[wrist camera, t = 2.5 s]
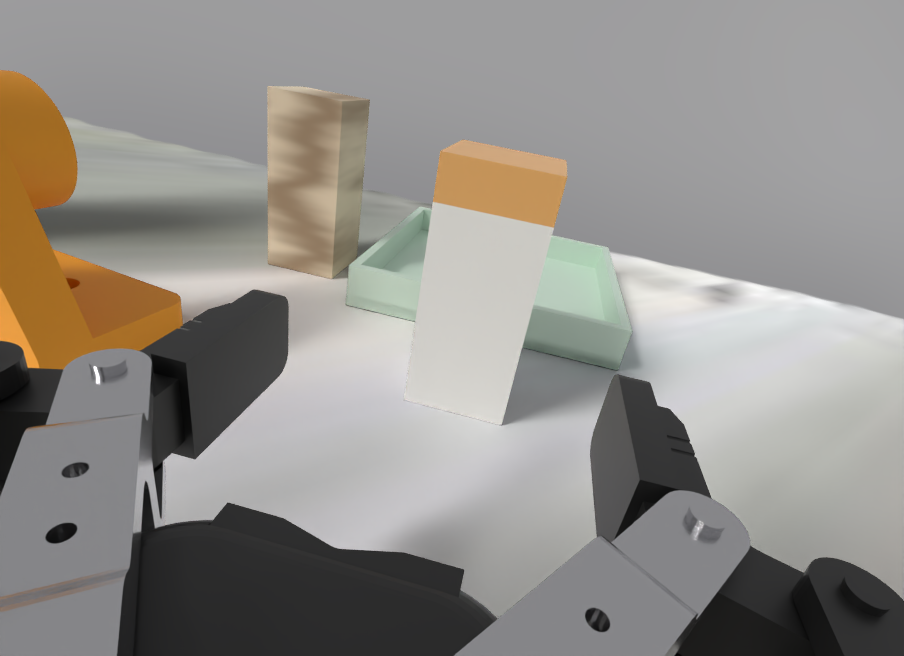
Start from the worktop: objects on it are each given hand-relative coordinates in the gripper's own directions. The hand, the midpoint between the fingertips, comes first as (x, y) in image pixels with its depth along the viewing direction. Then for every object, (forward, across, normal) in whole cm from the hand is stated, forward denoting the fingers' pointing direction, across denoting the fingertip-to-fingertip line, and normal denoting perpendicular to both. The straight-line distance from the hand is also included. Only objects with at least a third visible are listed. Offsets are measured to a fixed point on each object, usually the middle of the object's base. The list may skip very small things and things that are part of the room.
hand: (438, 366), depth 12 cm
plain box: (+24, +14, +8) cm, 30 cm away
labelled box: (+12, 0, +8) cm, 15 cm away
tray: (+28, 0, +8) cm, 29 cm away
